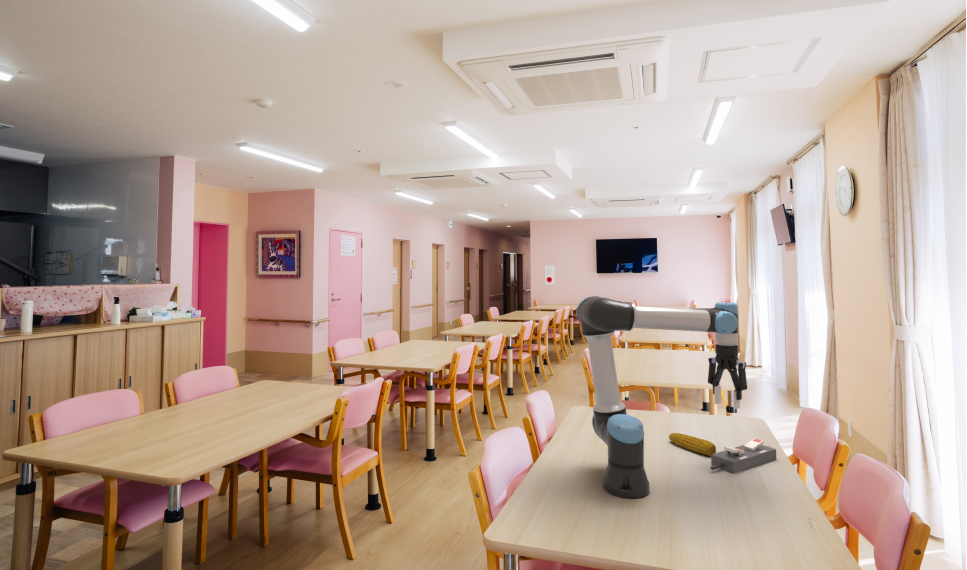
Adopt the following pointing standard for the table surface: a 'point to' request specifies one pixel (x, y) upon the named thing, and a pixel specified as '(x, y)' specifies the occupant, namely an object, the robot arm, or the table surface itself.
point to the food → (693, 443)
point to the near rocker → (734, 450)
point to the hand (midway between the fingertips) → (727, 405)
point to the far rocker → (753, 444)
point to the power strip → (742, 458)
